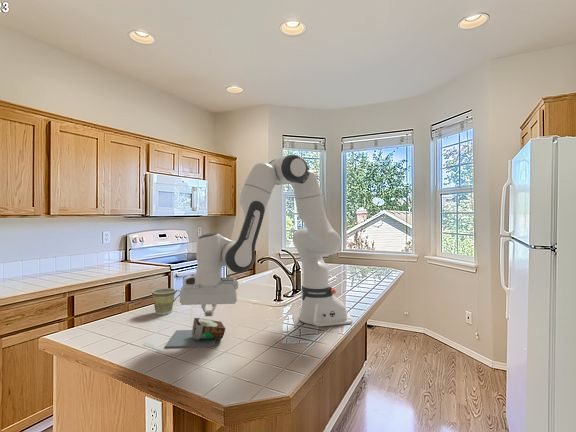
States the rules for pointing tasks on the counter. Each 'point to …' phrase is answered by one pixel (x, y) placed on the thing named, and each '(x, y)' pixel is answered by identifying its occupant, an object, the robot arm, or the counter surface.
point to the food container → (207, 329)
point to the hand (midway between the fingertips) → (209, 316)
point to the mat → (187, 340)
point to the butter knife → (152, 346)
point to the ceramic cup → (164, 300)
